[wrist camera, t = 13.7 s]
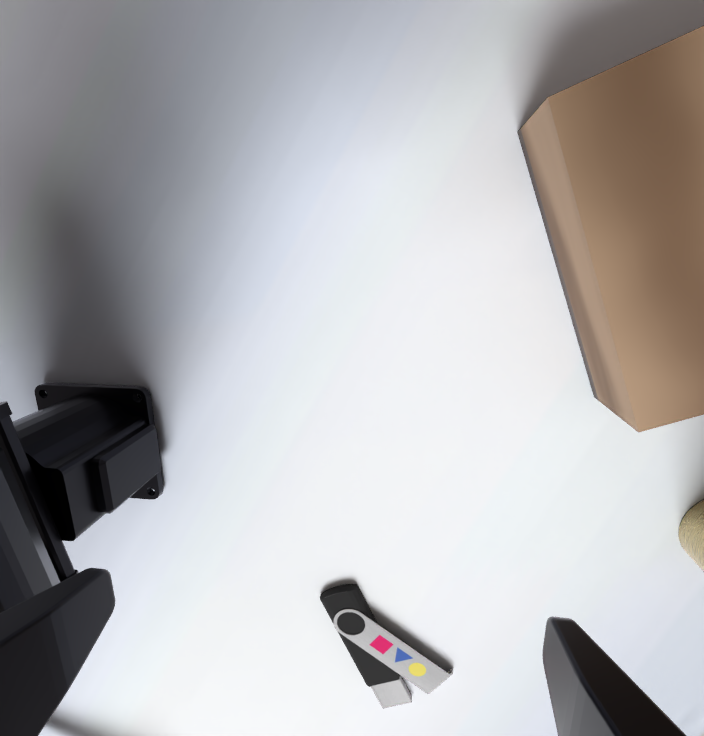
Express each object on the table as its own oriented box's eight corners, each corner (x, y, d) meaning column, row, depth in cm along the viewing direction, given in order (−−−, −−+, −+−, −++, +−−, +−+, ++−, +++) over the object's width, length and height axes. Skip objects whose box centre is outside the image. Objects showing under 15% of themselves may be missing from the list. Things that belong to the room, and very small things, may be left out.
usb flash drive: (320, 586, 25) (316, 600, 24) (402, 562, 24) (402, 575, 23) (380, 696, 27) (379, 712, 26) (460, 678, 25) (462, 694, 24)
